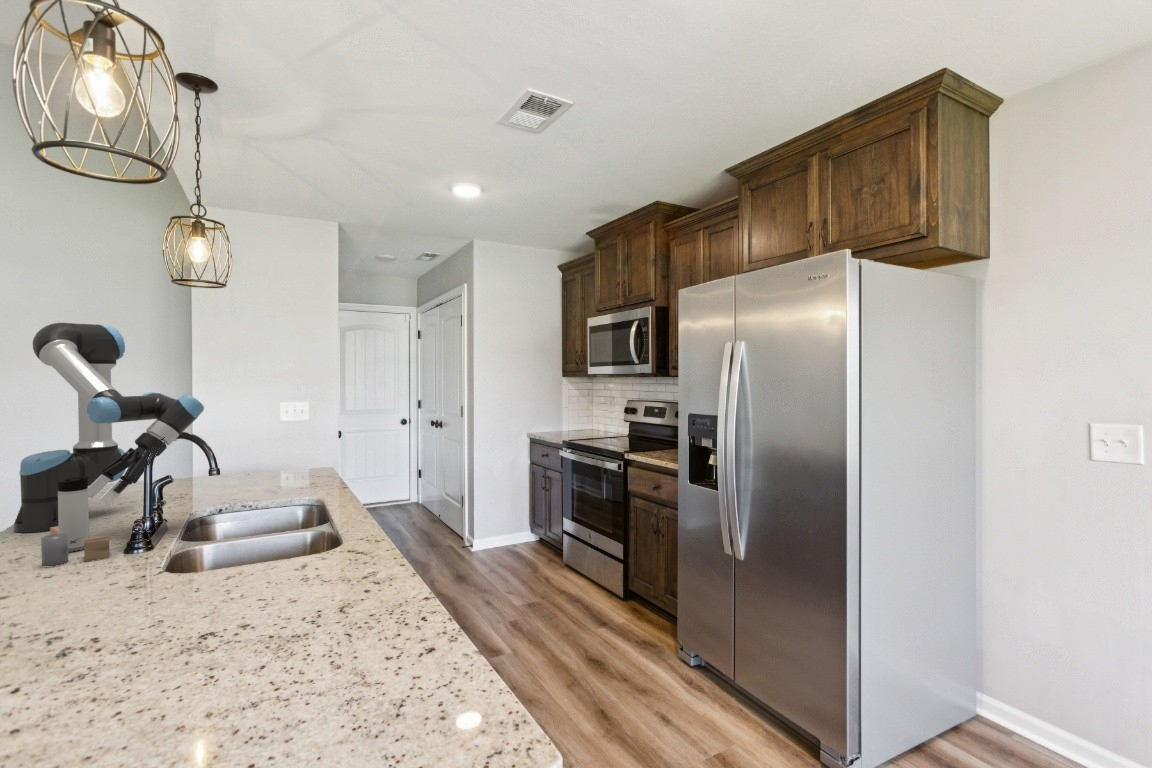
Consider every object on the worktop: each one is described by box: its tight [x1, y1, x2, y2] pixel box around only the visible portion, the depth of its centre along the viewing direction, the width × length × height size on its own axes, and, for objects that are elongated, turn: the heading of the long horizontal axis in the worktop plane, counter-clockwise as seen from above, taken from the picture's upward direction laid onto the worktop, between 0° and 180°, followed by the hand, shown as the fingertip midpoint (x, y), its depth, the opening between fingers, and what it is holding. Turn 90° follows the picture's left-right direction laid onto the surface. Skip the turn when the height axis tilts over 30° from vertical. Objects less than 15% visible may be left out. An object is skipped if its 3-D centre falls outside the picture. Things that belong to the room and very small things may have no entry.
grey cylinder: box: [40, 534, 69, 567], centre depth 145 cm, size 5×5×7 cm
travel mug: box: [58, 477, 90, 553], centre depth 156 cm, size 6×7×20 cm
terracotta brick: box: [49, 526, 59, 535], centre depth 164 cm, size 8×4×4 cm, turn 55°
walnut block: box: [83, 534, 111, 563], centre depth 149 cm, size 5×5×5 cm
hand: (95, 498), depth 158 cm, fingers open, 13 cm apart
